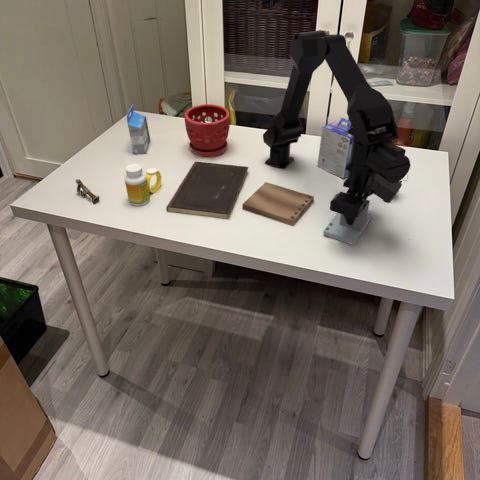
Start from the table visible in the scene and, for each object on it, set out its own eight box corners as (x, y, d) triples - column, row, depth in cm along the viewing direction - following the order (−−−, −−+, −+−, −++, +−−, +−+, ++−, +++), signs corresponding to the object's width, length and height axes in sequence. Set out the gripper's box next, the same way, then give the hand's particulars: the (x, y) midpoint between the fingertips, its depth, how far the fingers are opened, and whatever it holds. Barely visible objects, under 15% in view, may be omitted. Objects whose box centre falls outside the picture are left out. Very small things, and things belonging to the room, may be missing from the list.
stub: (342, 208, 113) (346, 184, 109) (371, 217, 110) (376, 192, 106) (323, 234, 106) (326, 209, 101) (353, 244, 102) (358, 219, 98)
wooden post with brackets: (78, 187, 122) (79, 176, 119) (98, 206, 121) (99, 195, 117) (72, 190, 121) (73, 178, 118) (92, 209, 120) (93, 198, 116)
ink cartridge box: (356, 172, 128) (364, 124, 119) (344, 179, 125) (351, 130, 116) (329, 160, 134) (335, 112, 125) (316, 166, 131) (321, 118, 122)
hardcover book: (248, 174, 129) (248, 166, 128) (228, 221, 112) (228, 213, 110) (194, 168, 132) (193, 161, 131) (166, 213, 115) (165, 205, 113)
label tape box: (146, 154, 138) (139, 115, 130) (132, 154, 138) (125, 115, 130) (150, 141, 145) (145, 103, 137) (138, 141, 145) (131, 103, 137)
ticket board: (265, 186, 123) (265, 181, 122) (313, 201, 117) (314, 195, 116) (242, 209, 115) (242, 203, 114) (292, 225, 109) (293, 220, 108)
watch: (155, 184, 125) (153, 164, 122) (164, 186, 124) (162, 166, 121) (143, 194, 120) (140, 173, 117) (152, 196, 120) (150, 176, 116)
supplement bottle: (145, 207, 116) (139, 174, 110) (125, 205, 117) (118, 172, 111) (153, 196, 120) (147, 163, 114) (133, 194, 121) (127, 161, 115)
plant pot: (178, 151, 139) (174, 114, 132) (208, 136, 147) (206, 100, 139) (209, 165, 132) (207, 126, 125) (239, 148, 140) (238, 111, 133)
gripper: (388, 191, 87) (374, 253, 97) (414, 150, 99) (399, 209, 109) (333, 176, 92) (324, 237, 101) (364, 139, 104) (354, 196, 114)
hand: (353, 219), depth 106 cm, fingers closed on stub, 4 cm apart
